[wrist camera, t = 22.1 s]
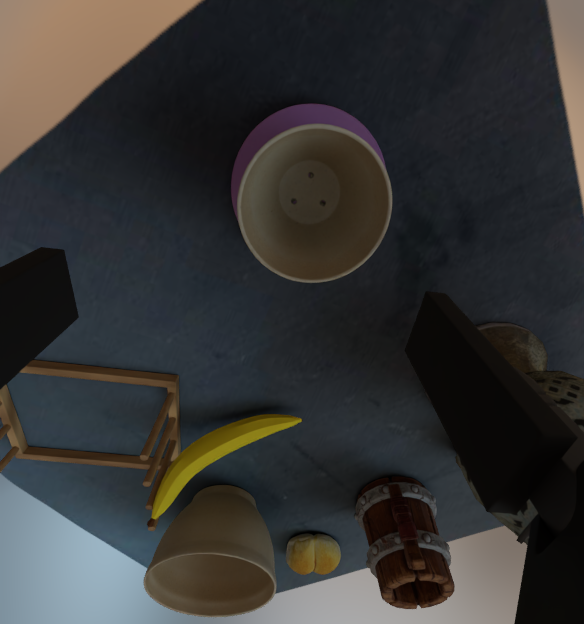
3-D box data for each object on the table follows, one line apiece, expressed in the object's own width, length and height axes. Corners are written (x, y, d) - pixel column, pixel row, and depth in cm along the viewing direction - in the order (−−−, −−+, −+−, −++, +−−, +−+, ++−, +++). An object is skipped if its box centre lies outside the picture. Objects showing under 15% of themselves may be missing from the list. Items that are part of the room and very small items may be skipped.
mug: (357, 529, 54) (376, 648, 40) (343, 459, 49) (359, 566, 35) (431, 520, 53) (478, 640, 38) (424, 448, 48) (474, 553, 34)
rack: (-13, 354, 37) (-102, 421, 29) (178, 375, 39) (147, 444, 30) (22, 450, 45) (-40, 525, 36) (181, 464, 46) (157, 539, 38)
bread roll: (334, 557, 59) (337, 585, 55) (284, 554, 58) (283, 582, 54) (344, 532, 55) (348, 560, 51) (290, 528, 54) (290, 556, 50)
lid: (238, 90, 25) (235, 89, 24) (403, 119, 26) (408, 118, 25) (229, 253, 31) (227, 258, 30) (363, 271, 32) (365, 276, 31)
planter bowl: (283, 529, 54) (282, 614, 45) (185, 534, 55) (163, 620, 45) (272, 464, 46) (267, 551, 37) (158, 471, 47) (125, 559, 37)
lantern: (563, 315, 35) (1038, 622, 13) (534, 417, 41) (815, 739, 19) (426, 328, 36) (646, 637, 13) (419, 425, 42) (559, 745, 20)
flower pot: (223, 181, 27) (203, 198, 21) (323, 93, 24) (335, 80, 18) (297, 272, 31) (299, 308, 25) (391, 204, 28) (420, 226, 22)
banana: (286, 399, 44) (310, 435, 39) (146, 480, 39) (155, 532, 35) (281, 385, 42) (306, 422, 37) (134, 468, 37) (141, 522, 33)
